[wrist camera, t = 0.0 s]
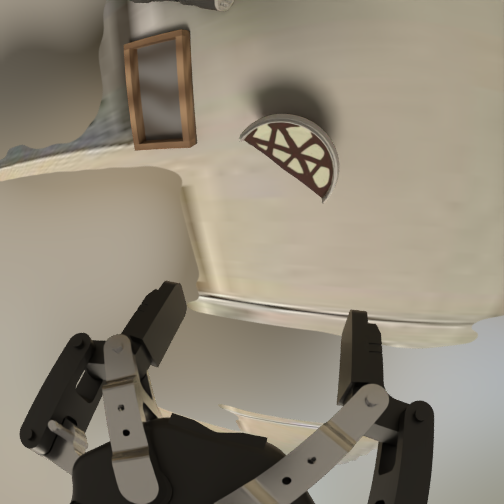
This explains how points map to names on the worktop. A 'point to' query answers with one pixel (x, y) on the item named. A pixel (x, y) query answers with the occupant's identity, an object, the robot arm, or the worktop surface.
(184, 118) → the open wooden frame
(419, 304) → the worktop surface
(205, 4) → the flashlight
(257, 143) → the food container
